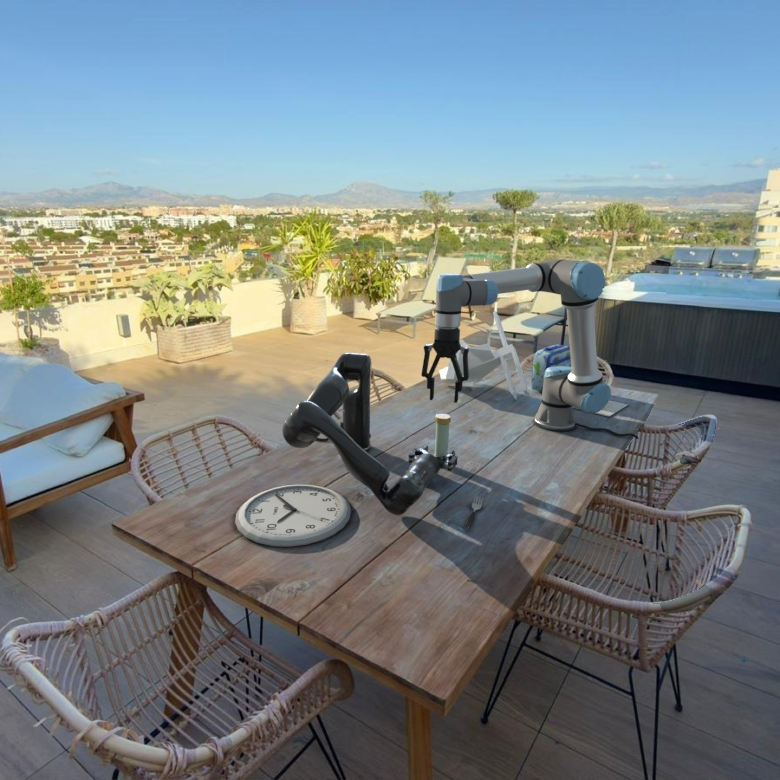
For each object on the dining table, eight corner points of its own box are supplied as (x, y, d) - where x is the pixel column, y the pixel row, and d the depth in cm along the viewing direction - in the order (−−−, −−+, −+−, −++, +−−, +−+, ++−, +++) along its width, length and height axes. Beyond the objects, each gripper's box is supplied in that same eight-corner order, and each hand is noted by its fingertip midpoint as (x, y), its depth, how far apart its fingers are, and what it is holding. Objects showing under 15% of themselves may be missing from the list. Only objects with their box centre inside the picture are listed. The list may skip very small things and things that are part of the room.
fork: (461, 529, 132) (462, 523, 131) (474, 500, 146) (474, 494, 146) (471, 532, 131) (472, 525, 130) (483, 502, 145) (483, 495, 145)
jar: (431, 462, 170) (433, 416, 165) (442, 460, 172) (444, 414, 167) (438, 467, 166) (440, 420, 161) (449, 465, 168) (452, 418, 163)
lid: (432, 420, 166) (432, 414, 165) (444, 418, 168) (445, 412, 167) (440, 425, 161) (440, 419, 161) (453, 423, 164) (453, 417, 163)
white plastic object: (461, 429, 252) (437, 405, 227) (444, 352, 274) (420, 323, 250) (535, 404, 240) (518, 377, 215) (510, 326, 262) (492, 293, 237)
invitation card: (608, 416, 214) (573, 407, 224) (608, 416, 214) (573, 408, 224) (628, 404, 229) (594, 396, 238) (628, 405, 229) (594, 397, 238)
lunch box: (547, 397, 237) (552, 352, 231) (526, 391, 245) (531, 348, 238) (574, 386, 255) (580, 344, 249) (554, 381, 262) (559, 340, 256)
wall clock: (351, 538, 125) (223, 542, 122) (351, 544, 125) (223, 548, 123) (350, 480, 153) (246, 482, 151) (350, 485, 154) (246, 487, 151)
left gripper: (399, 477, 155) (418, 456, 169) (445, 487, 150) (460, 465, 164) (400, 454, 153) (419, 435, 167) (447, 463, 147) (462, 443, 162)
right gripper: (482, 327, 157) (477, 399, 163) (417, 322, 162) (415, 393, 168) (479, 331, 150) (474, 407, 156) (412, 326, 155) (409, 400, 161)
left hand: (439, 450), depth 165 cm, fingers open, 8 cm apart
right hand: (443, 400), depth 162 cm, fingers open, 7 cm apart
